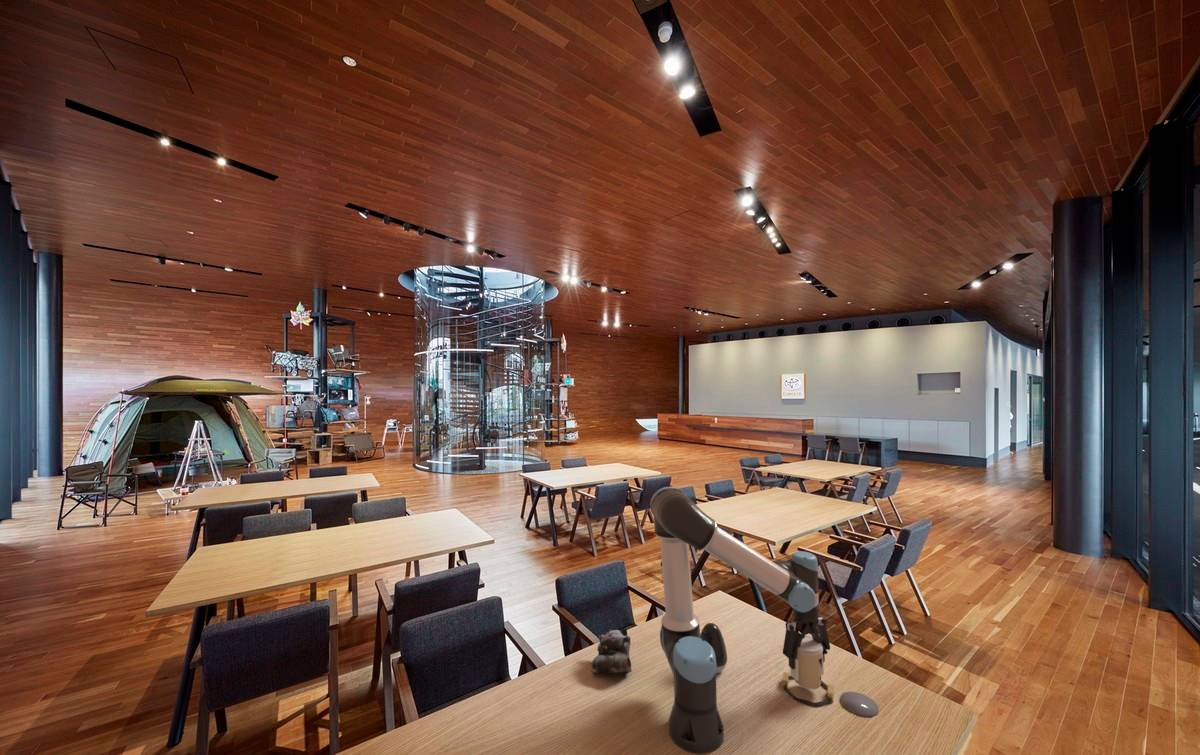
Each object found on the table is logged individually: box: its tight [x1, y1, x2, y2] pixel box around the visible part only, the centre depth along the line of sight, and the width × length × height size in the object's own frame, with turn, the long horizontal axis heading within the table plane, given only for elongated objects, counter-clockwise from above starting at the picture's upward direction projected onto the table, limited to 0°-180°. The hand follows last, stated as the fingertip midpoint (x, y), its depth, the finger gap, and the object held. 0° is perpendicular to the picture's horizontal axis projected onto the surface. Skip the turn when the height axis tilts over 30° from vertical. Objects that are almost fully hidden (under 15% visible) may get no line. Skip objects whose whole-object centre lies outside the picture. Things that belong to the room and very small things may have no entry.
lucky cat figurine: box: [590, 628, 632, 674], centre depth 157 cm, size 15×12×14 cm
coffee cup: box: [792, 635, 823, 690], centre depth 144 cm, size 9×9×12 cm
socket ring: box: [781, 671, 835, 708], centre depth 144 cm, size 14×14×2 cm
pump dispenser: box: [700, 622, 728, 674], centre depth 156 cm, size 10×10×15 cm
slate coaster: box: [839, 691, 880, 718], centre depth 137 cm, size 10×10×1 cm
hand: (807, 675), depth 144 cm, fingers closed on coffee cup, 9 cm apart
